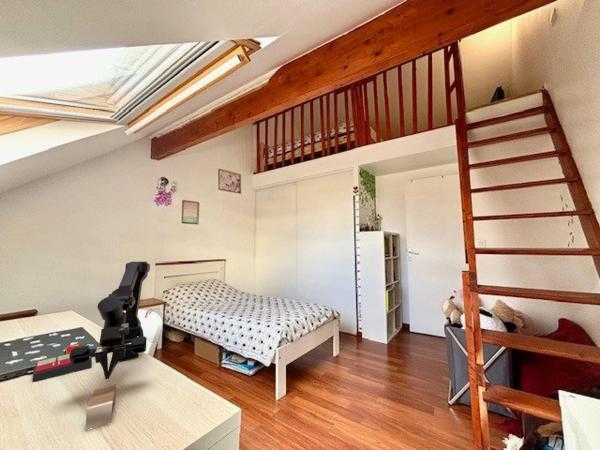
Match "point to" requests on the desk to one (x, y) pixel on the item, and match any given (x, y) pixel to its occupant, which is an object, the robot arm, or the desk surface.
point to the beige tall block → (101, 407)
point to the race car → (70, 348)
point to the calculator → (58, 367)
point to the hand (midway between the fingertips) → (107, 378)
